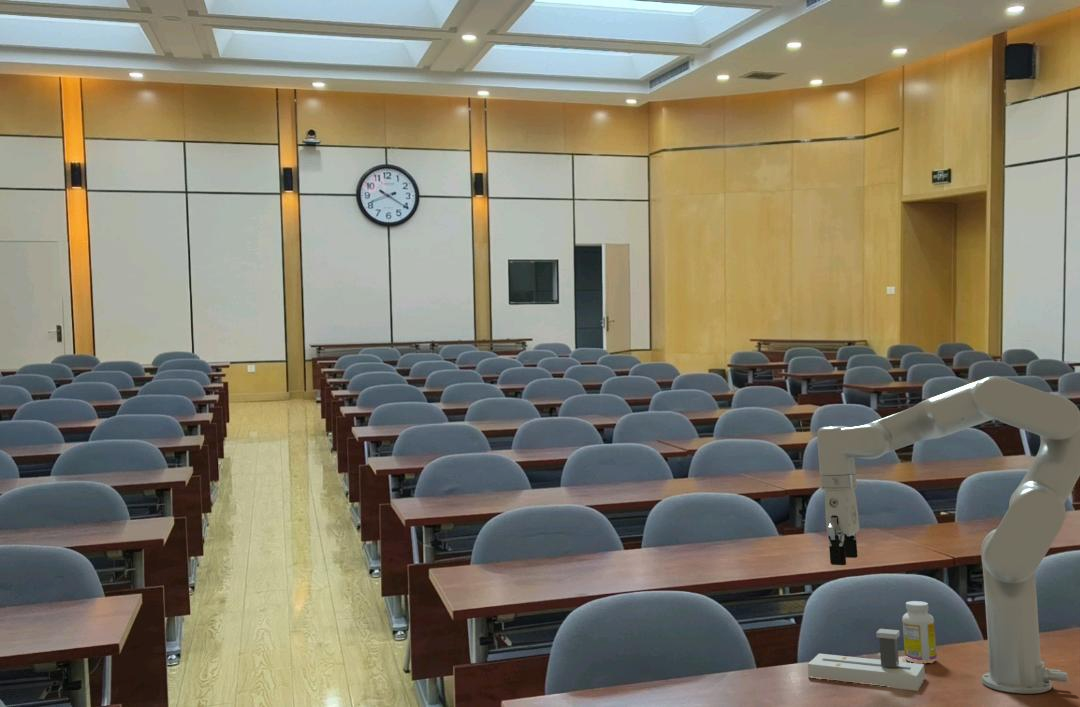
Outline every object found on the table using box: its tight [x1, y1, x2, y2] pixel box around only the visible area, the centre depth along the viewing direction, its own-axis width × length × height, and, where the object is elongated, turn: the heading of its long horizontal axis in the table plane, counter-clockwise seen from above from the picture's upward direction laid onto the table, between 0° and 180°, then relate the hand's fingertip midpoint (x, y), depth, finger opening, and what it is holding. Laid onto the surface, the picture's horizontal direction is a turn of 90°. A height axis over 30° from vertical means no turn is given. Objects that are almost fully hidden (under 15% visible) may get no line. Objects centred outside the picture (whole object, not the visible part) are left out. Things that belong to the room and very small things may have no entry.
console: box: [807, 653, 926, 692], centre depth 197 cm, size 22×9×3 cm, turn 59°
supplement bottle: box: [901, 600, 938, 661], centre depth 209 cm, size 7×7×13 cm
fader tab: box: [875, 628, 901, 668], centre depth 195 cm, size 4×4×7 cm
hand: (844, 561), depth 203 cm, fingers open, 9 cm apart
